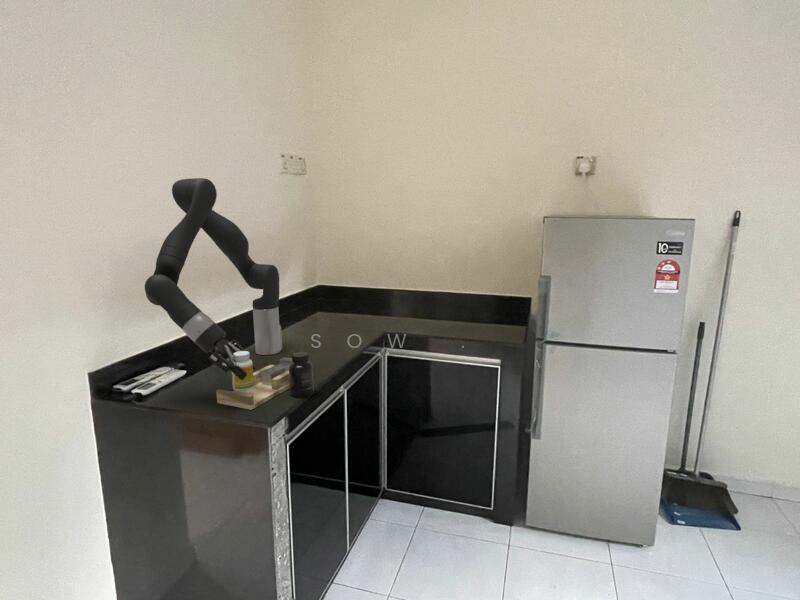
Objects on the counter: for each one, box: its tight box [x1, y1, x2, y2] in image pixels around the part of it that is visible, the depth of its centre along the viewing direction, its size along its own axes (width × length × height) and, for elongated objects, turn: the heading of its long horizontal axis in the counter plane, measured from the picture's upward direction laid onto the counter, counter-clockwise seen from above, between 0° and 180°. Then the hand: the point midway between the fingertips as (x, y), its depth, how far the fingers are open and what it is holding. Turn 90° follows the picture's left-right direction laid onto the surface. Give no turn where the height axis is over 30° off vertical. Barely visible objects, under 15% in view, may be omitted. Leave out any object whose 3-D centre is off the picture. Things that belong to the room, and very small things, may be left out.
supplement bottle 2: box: [289, 351, 315, 399], centre depth 140 cm, size 7×7×12 cm
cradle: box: [215, 364, 290, 411], centre depth 142 cm, size 23×12×4 cm, turn 157°
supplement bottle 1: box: [231, 350, 254, 391], centre depth 134 cm, size 6×6×10 cm
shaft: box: [261, 357, 293, 386], centre depth 149 cm, size 12×5×5 cm, turn 157°
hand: (248, 373), depth 134 cm, fingers closed on supplement bottle 1, 5 cm apart
